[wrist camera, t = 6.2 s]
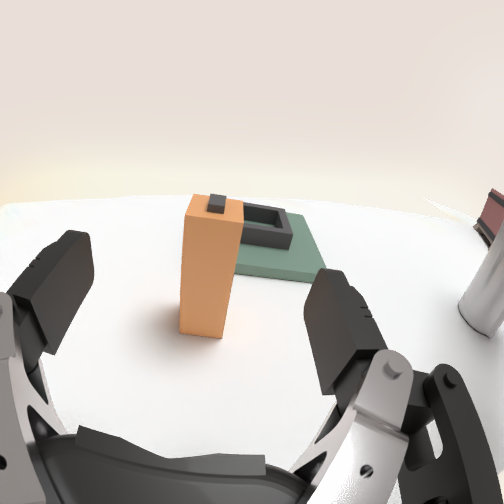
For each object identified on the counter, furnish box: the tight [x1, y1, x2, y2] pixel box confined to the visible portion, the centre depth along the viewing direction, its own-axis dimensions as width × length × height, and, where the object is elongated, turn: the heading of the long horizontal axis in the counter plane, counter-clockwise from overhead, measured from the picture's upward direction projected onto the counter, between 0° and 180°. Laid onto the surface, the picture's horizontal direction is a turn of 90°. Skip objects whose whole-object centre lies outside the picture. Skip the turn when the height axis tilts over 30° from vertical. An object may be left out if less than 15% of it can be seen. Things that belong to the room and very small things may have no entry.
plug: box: [180, 194, 244, 338], centre depth 23 cm, size 4×4×13 cm
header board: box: [234, 202, 327, 283], centre depth 41 cm, size 18×18×4 cm
